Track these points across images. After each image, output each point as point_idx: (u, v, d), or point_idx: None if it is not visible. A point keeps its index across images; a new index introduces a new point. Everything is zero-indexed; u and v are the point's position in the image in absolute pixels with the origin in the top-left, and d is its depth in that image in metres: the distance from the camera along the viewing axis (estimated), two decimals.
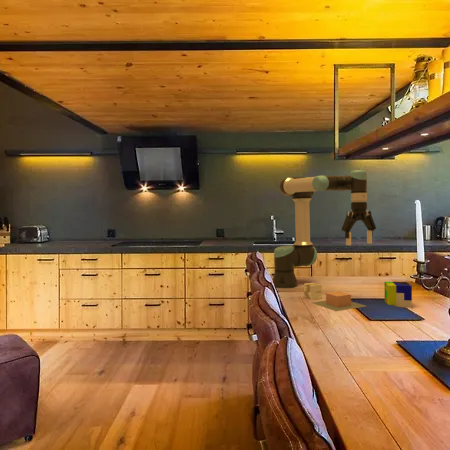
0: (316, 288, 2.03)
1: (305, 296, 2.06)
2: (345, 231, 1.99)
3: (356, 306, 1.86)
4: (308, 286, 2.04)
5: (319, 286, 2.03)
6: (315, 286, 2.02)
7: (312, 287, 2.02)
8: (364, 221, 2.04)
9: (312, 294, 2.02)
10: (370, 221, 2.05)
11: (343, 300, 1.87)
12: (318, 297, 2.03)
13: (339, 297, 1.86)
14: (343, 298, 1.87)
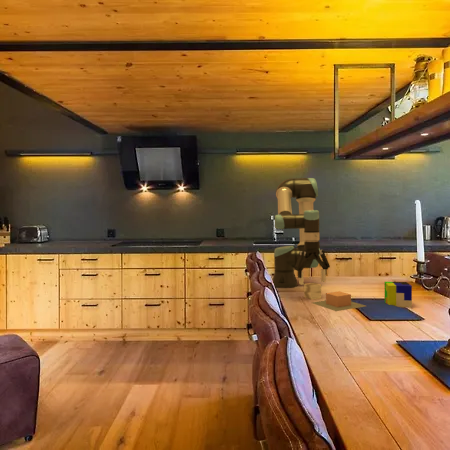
0: (316, 288, 2.03)
1: (305, 296, 2.06)
2: (297, 270, 2.01)
3: (356, 306, 1.86)
4: (308, 286, 2.04)
5: (319, 286, 2.03)
6: (315, 286, 2.02)
7: (312, 287, 2.02)
8: (317, 260, 2.06)
9: (312, 294, 2.02)
10: (324, 260, 2.07)
11: (343, 300, 1.87)
12: (318, 297, 2.03)
13: (339, 297, 1.86)
14: (343, 298, 1.87)
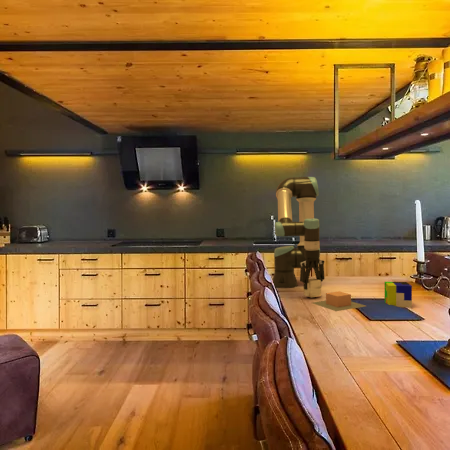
0: (316, 284, 2.03)
1: None
2: (303, 282, 2.03)
3: (356, 306, 1.86)
4: None
5: (319, 282, 2.04)
6: (315, 282, 2.03)
7: (312, 283, 2.02)
8: (315, 269, 2.06)
9: (311, 289, 2.02)
10: (321, 270, 2.07)
11: (343, 300, 1.87)
12: (318, 293, 2.04)
13: (339, 297, 1.86)
14: (343, 298, 1.87)
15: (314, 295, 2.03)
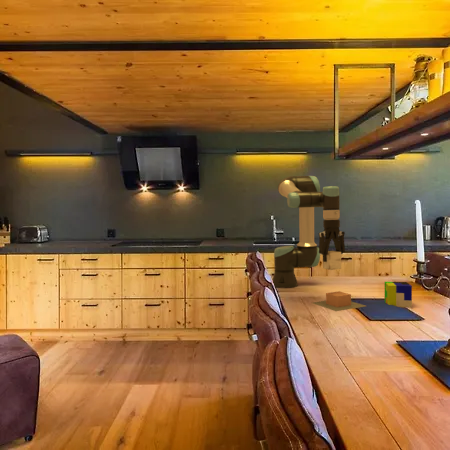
0: (336, 255, 1.90)
1: None
2: (322, 254, 1.90)
3: (356, 306, 1.86)
4: (327, 254, 1.91)
5: (339, 254, 1.91)
6: (335, 253, 1.90)
7: (332, 254, 1.89)
8: (335, 241, 1.93)
9: (331, 261, 1.89)
10: (341, 242, 1.94)
11: (343, 300, 1.87)
12: (338, 265, 1.91)
13: (339, 297, 1.86)
14: (343, 298, 1.87)
15: (334, 268, 1.90)
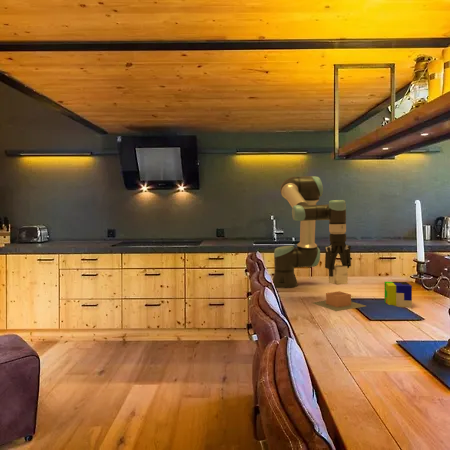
0: (342, 270, 1.88)
1: None
2: (329, 269, 1.88)
3: (356, 306, 1.86)
4: None
5: (345, 268, 1.88)
6: (341, 268, 1.87)
7: (338, 269, 1.86)
8: (341, 255, 1.91)
9: (337, 276, 1.86)
10: (347, 256, 1.92)
11: (343, 300, 1.87)
12: (344, 280, 1.88)
13: (339, 297, 1.86)
14: (343, 298, 1.87)
15: (340, 282, 1.87)
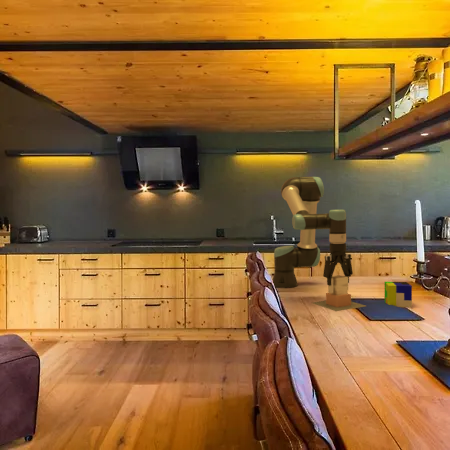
0: (342, 281, 1.88)
1: None
2: (327, 277, 1.88)
3: (356, 306, 1.86)
4: (333, 279, 1.89)
5: (345, 279, 1.89)
6: (341, 279, 1.88)
7: (338, 280, 1.87)
8: (342, 264, 1.91)
9: (338, 287, 1.87)
10: (348, 265, 1.92)
11: (343, 300, 1.87)
12: (344, 291, 1.89)
13: (339, 297, 1.86)
14: (343, 298, 1.87)
15: (340, 293, 1.88)
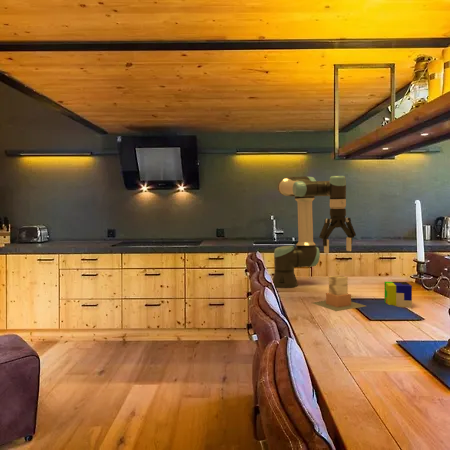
0: (342, 281, 1.88)
1: (330, 290, 1.91)
2: (323, 238, 1.94)
3: (356, 306, 1.86)
4: (333, 279, 1.89)
5: (345, 279, 1.89)
6: (341, 279, 1.88)
7: (338, 280, 1.87)
8: (343, 228, 1.98)
9: (338, 287, 1.87)
10: (350, 228, 2.00)
11: (343, 300, 1.87)
12: (344, 291, 1.89)
13: (339, 297, 1.86)
14: (343, 298, 1.87)
15: (340, 293, 1.88)
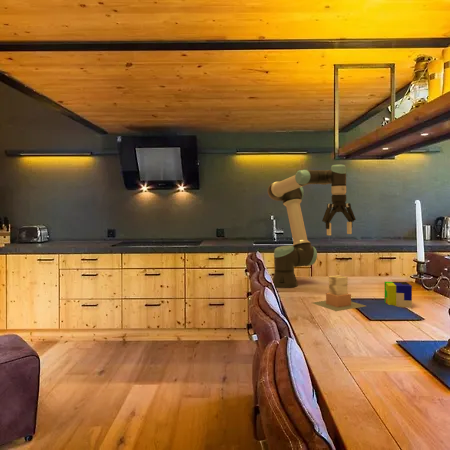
0: (342, 281, 1.88)
1: (330, 290, 1.91)
2: (325, 222, 2.11)
3: (356, 306, 1.86)
4: (333, 279, 1.89)
5: (345, 279, 1.89)
6: (341, 279, 1.88)
7: (338, 280, 1.87)
8: (344, 213, 2.16)
9: (338, 287, 1.87)
10: (350, 213, 2.17)
11: (343, 300, 1.87)
12: (344, 291, 1.89)
13: (339, 297, 1.86)
14: (343, 298, 1.87)
15: (340, 293, 1.88)
